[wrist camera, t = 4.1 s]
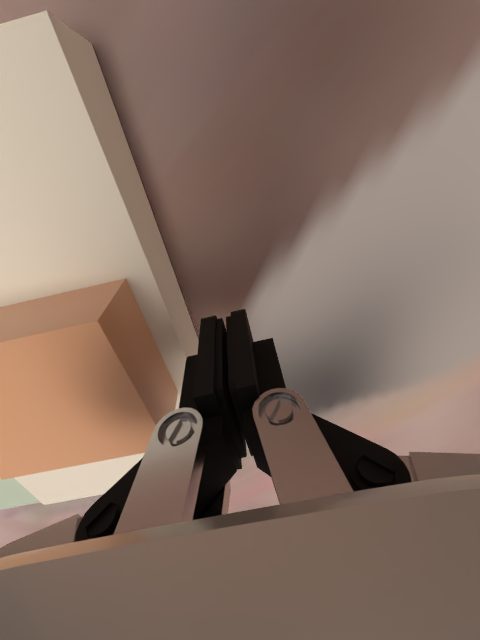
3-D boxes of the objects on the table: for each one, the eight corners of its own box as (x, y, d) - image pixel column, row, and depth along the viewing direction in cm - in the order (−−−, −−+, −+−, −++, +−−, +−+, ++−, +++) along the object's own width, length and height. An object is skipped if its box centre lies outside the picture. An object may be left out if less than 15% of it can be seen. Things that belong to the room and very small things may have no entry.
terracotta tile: (125, 278, 11) (97, 321, 8) (177, 391, 14) (168, 448, 12) (-48, 317, 11) (-125, 370, 9) (40, 419, 14) (2, 479, 12)
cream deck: (91, 43, 10) (46, 10, 7) (230, 428, 20) (231, 470, 18) (-228, 134, 10) (-371, 133, 8) (65, 460, 21) (43, 504, 18)
